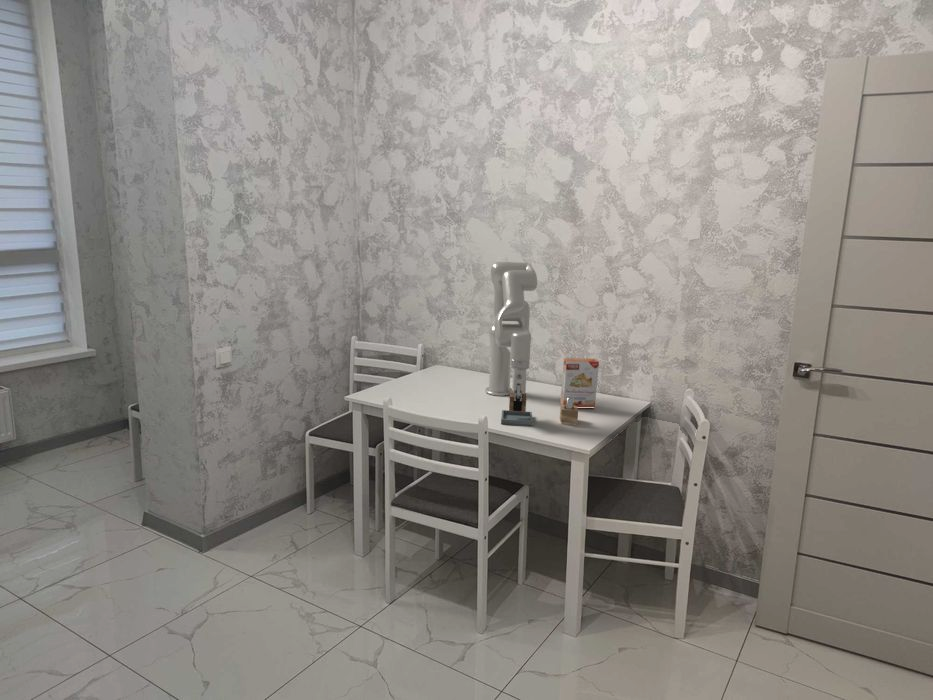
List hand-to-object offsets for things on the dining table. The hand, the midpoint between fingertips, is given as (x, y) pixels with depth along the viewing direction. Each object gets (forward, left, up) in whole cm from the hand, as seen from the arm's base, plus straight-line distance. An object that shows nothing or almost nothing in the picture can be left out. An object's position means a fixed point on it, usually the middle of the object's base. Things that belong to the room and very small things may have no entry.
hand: (517, 407), depth 252 cm
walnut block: (0, 0, -1) cm, 1 cm away
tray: (0, 0, -5) cm, 5 cm away
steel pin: (-2, +20, -4) cm, 21 cm away
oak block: (-2, +20, -5) cm, 21 cm away
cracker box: (-23, +26, -5) cm, 35 cm away
